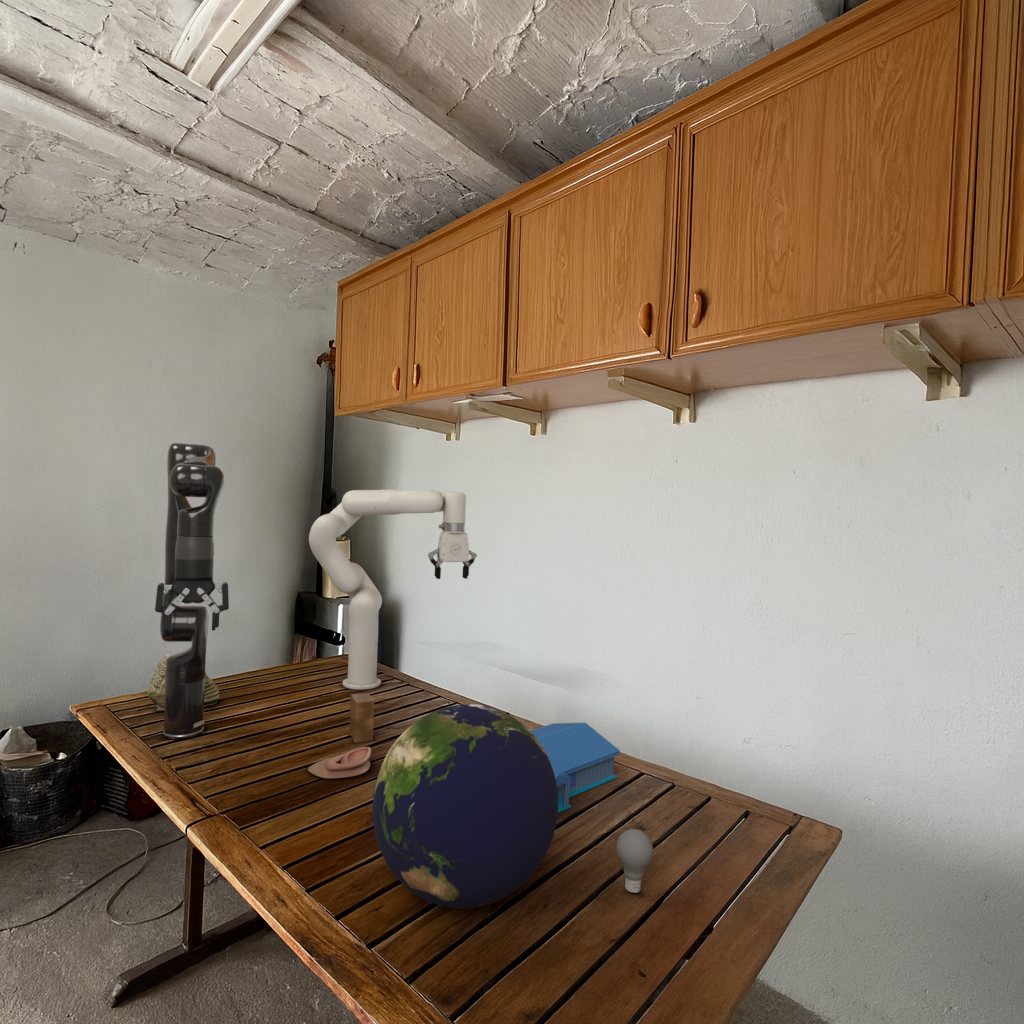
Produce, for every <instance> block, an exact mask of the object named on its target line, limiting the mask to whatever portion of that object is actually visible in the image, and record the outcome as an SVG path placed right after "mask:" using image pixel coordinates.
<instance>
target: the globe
mask: <svg viewBox="0 0 1024 1024" xmlns="http://www.w3.org/2000/svg"><path fill="white" fill-rule="evenodd" d="M530 730H531V729H529V728H527V726H525V725H524V724H523V723H522V722H520V721H519V720H518V719H516V718H515V717H514V716H512V715H510V714H509V713H506V712H504V711H502V710H499V709H497V708H494V707H491V706H487V705H482V704H478V703H477V704H475V703H468V704H467V703H466V704H465V703H464V704H455V705H450V706H449V705H448V706H445V707H442V708H439V709H437V710H434V711H432V712H429V713H428V714H425V715H424V716H422V717H420V719H417V720H416V721H415V722H413V723H412V724H411V725H410V726H408V727H407V728H406V729H405V730H404V731H403V732H402V734H401V735H400V736H398V737H397V738H396V740H395V741H394V742H393V744H392V745H391V747H390V748H389V749H388V751H387V753H386V755H385V757H384V760H383V761H382V763H381V765H380V768H379V771H378V774H377V776H376V781H375V784H374V789H373V796H372V804H371V805H372V807H371V809H372V824H373V829H374V836H375V839H376V843H377V846H378V849H379V852H380V853H381V856H382V858H383V860H384V861H385V863H386V865H387V866H388V868H389V871H391V873H392V874H393V875H394V876H395V878H396V879H397V880H398V881H399V882H400V883H401V884H402V885H403V886H404V887H405V888H406V889H407V890H409V891H410V892H411V893H413V895H415V896H417V897H419V898H421V899H422V900H425V901H426V902H429V903H431V904H434V905H437V906H440V907H444V908H448V909H457V910H465V909H466V910H467V909H469V910H470V909H477V908H481V907H486V906H489V905H492V904H494V903H497V902H499V901H502V900H504V899H505V898H508V896H510V895H512V894H513V893H515V892H516V891H518V890H519V889H520V888H521V887H523V885H524V884H526V883H527V882H528V880H530V879H531V878H532V877H533V875H534V874H535V873H536V871H537V870H538V869H539V867H540V866H541V865H542V862H543V861H544V859H545V857H546V855H547V854H548V851H549V849H550V847H551V844H552V842H553V839H554V836H555V832H556V829H557V828H556V827H557V822H558V816H559V813H558V791H557V784H556V779H555V775H554V772H553V768H552V765H551V763H550V761H549V758H548V756H547V753H546V752H545V750H544V748H543V747H542V745H541V743H540V742H539V741H538V739H537V738H536V737H535V736H534V735H533V734H532V733H531V732H530Z"/></svg>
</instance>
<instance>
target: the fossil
mask: <svg viewBox="0 0 1024 1024" xmlns="http://www.w3.org/2000/svg"><path fill="white" fill-rule="evenodd" d="M171 655H172V654H165V655H164V656H163V657H162V658H161V659H160V660H159V662H158V663H157V666H156V667H155V669H154V670H153V672H152V675H151V677H150V680H149V684H148V688H147V697H148V699H149V700H150V701H152V703H153V704H154V706H155V711H158V712H159V711H162V712H163V711H164V705H165V674H166V660H167V658H168V657H170V656H171ZM220 698H221V696H220V690H219V688H218V686H217V685H216V683H215V682H214V681H213V679H212V678H211V677H209V675H208V674H207V672H206V671H205V693H204V707H207V706H213V705H215V704H217V703H218V701H219V699H220Z"/></svg>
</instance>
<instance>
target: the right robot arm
mask: <svg viewBox="0 0 1024 1024" xmlns="http://www.w3.org/2000/svg"><path fill="white" fill-rule="evenodd" d="M466 509H467V496H466V494H465V493H464V492H459V491H447V492H445V491H444V492H443V491H437V490H433V489H429V490H427V489H425V490H399V489H352V490H349V491H347V492H345V493H344V494H343V496H342V499H341V502H340V503H339V504H338V505H336V507H335V508H333V509H332V511H330V512H329V513H325V514H323V515H320V516H319V517H317V518H316V520H315V521H314V522H313V524H312V525H311V528H310V530H309V534H308V544H309V547H310V550H311V552H312V554H313V556H314V557H315V559H316V560H317V562H318V563H319V565H320V566H321V567H322V569H323V571H324V573H325V574H326V576H327V577H328V578H329V580H330V581H331V583H332V584H333V586H334V588H335V589H336V590H337V591H338V592H340V593H343V594H346V595H347V596H348V598H349V599H350V602H349V606H348V622H349V624H348V626H349V627H348V628H349V629H348V655H347V656H348V657H347V660H348V661H347V678H345V679H343V681H342V687H344V688H345V689H349V690H357V691H361V690H362V691H363V690H371V689H375V688H378V687H380V686H381V685H382V681H381V678H379V677H377V675H378V669H377V668H378V652H379V651H378V650H379V649H378V648H379V612H380V609H381V607H382V604H383V598H382V595H381V592H380V591H379V590H378V588H377V587H376V585H375V584H374V582H373V580H372V579H371V578H370V577H369V576H368V574H367V572H366V571H365V570H364V568H363V567H362V566H361V565H360V564H358V563H356V562H351V561H350V559H349V558H348V556H347V555H346V553H345V552H344V551H343V549H342V548H341V547H340V545H339V544H338V541H337V538H339V537H341V536H343V534H345V533H346V532H347V531H348V530H349V529H350V528H352V526H353V525H354V524H355V523H357V522H358V521H359V520H360V519H361V518H362V516H395V515H402V514H403V515H404V514H434V513H440V512H441V513H442V523H440V524H438V529H441V531H440V532H439V536H438V542H437V548H436V549H434V550H432V551H430V552H428V553H427V557H428V559H429V562H430V563H431V564H432V565H433V567H434V577H435V579H436V580H440V579H441V576H442V574H441V573H442V568H441V565H442V564H443V563H462V564H463V566H462V578H463V579H465V580H468V577H469V575H470V567H471V566H472V564H473V563H475V560H476V558H477V557H478V554H477V553H475V552H474V551H472V550H470V549H469V535H468V532H465V530H466ZM469 555H470V556H469ZM434 556H436V558H437V559H435V558H434ZM469 557H470V558H469Z"/></svg>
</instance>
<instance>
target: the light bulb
mask: <svg viewBox="0 0 1024 1024" xmlns="http://www.w3.org/2000/svg"><path fill="white" fill-rule="evenodd" d="M615 849H616V854H617V857H618V859H619V861H620V863H621V865H622V867H623V873H624V874H623V875H624V876H625V878H624V888H625V890H627V891H628V892H630V893H634V894H635V893H639V892H640V891H641V889H642V887H641V886H642V879H643V877H644V875H645V871H646V868H647V867H648V866H649V864H650V863H651V861H652V859H653V855H654V847H653V843H652V841H651V838H649V836H648V835H647V834H646V833H645V832H643V831H642V830H641V829H636V828H629V829H627V830H625V831H623V832H622V833H621V834H620V835H619V837H618V839H617V841H616V847H615Z"/></svg>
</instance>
